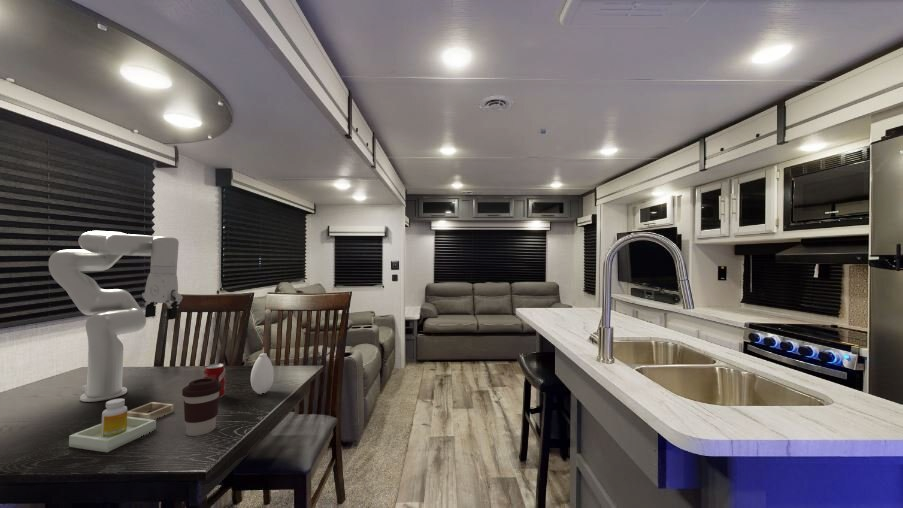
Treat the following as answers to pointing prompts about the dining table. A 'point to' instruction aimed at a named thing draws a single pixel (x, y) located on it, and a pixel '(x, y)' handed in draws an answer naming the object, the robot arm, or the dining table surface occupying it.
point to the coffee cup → (201, 405)
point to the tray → (94, 441)
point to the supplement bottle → (114, 418)
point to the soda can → (216, 375)
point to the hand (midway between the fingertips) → (160, 318)
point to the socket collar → (156, 407)
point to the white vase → (262, 374)
